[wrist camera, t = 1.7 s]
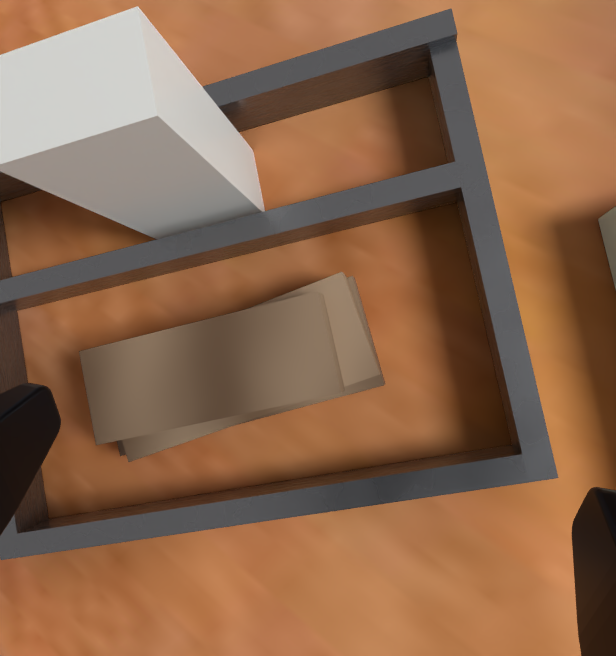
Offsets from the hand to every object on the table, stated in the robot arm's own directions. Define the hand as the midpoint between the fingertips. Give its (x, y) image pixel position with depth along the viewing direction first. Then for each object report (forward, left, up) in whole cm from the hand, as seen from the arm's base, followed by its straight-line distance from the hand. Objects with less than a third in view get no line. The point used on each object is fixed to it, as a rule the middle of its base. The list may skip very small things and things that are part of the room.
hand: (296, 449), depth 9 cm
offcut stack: (-5, +2, -14) cm, 15 cm away
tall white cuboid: (-5, +10, -14) cm, 18 cm away
